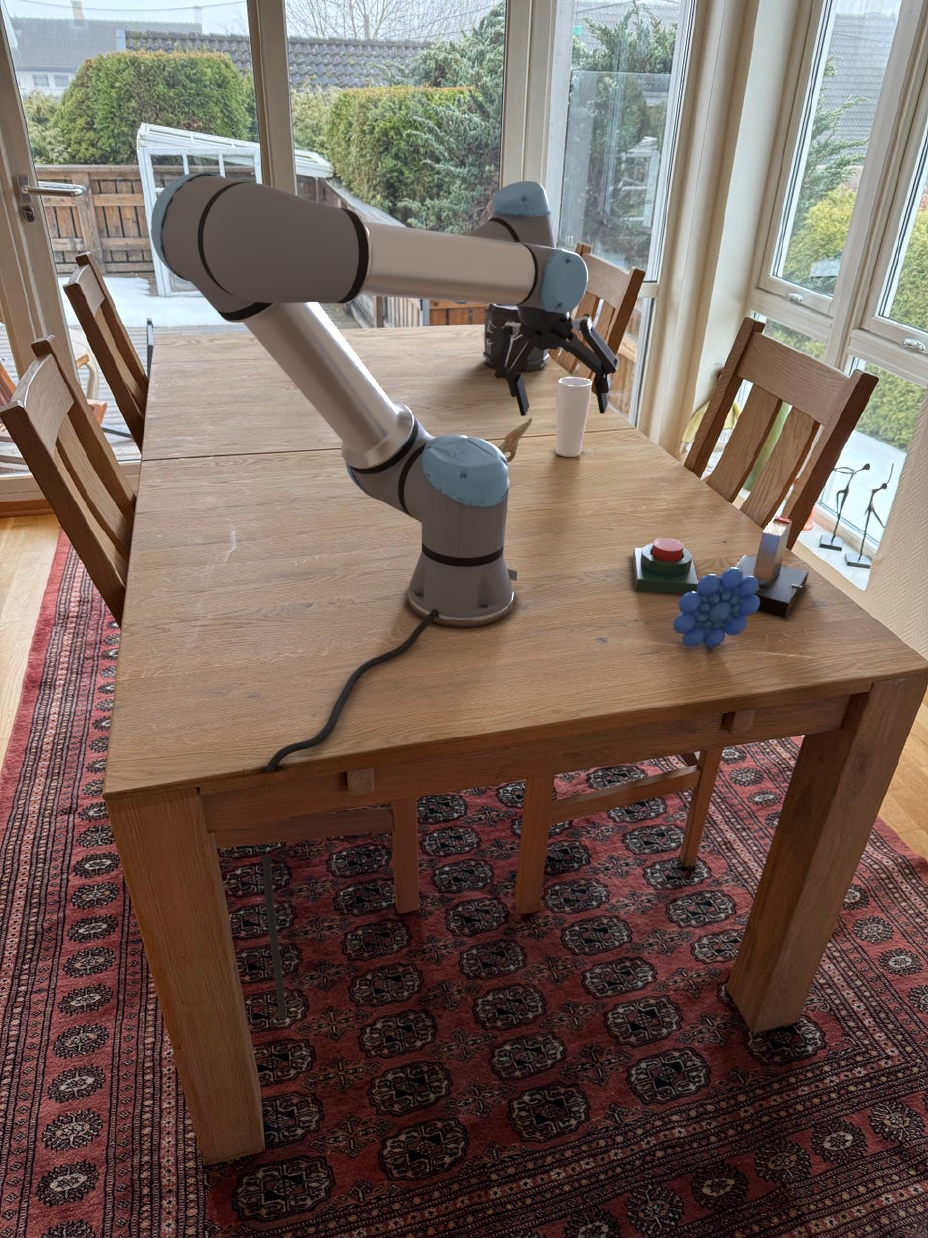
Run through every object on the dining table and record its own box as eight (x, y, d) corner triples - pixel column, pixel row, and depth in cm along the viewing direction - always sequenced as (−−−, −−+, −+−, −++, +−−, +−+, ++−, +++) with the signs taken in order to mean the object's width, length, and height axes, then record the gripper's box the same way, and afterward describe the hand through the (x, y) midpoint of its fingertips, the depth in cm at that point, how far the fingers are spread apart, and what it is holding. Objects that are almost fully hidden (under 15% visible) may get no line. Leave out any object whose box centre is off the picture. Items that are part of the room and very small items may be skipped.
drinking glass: (546, 455, 187) (552, 382, 180) (559, 445, 192) (565, 374, 185) (577, 461, 185) (584, 388, 177) (589, 451, 190) (597, 380, 182)
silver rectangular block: (768, 588, 135) (780, 534, 130) (750, 583, 136) (762, 530, 132) (780, 571, 140) (792, 519, 135) (763, 567, 141) (774, 515, 136)
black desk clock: (472, 356, 252) (474, 297, 244) (533, 353, 257) (537, 295, 249) (493, 374, 237) (496, 311, 229) (557, 370, 242) (562, 309, 234)
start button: (682, 563, 139) (685, 552, 138) (652, 561, 139) (654, 549, 138) (680, 550, 143) (682, 539, 142) (650, 548, 143) (652, 536, 142)
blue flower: (737, 628, 130) (753, 552, 124) (757, 654, 124) (775, 575, 118) (658, 632, 128) (671, 555, 122) (675, 658, 122) (689, 579, 116)
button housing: (695, 595, 138) (700, 572, 136) (635, 590, 138) (639, 567, 136) (688, 562, 147) (692, 540, 145) (632, 558, 148) (635, 535, 146)
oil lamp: (531, 474, 177) (534, 425, 172) (421, 473, 176) (421, 423, 171) (526, 458, 185) (529, 410, 180) (420, 457, 184) (421, 408, 179)
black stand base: (787, 619, 132) (791, 603, 131) (715, 598, 137) (718, 582, 136) (807, 586, 141) (811, 571, 140) (739, 568, 146) (742, 553, 145)
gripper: (626, 271, 135) (642, 393, 149) (470, 285, 144) (500, 399, 159) (615, 297, 130) (633, 421, 145) (455, 310, 140) (487, 425, 154)
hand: (563, 409), depth 152 cm, fingers open, 13 cm apart
